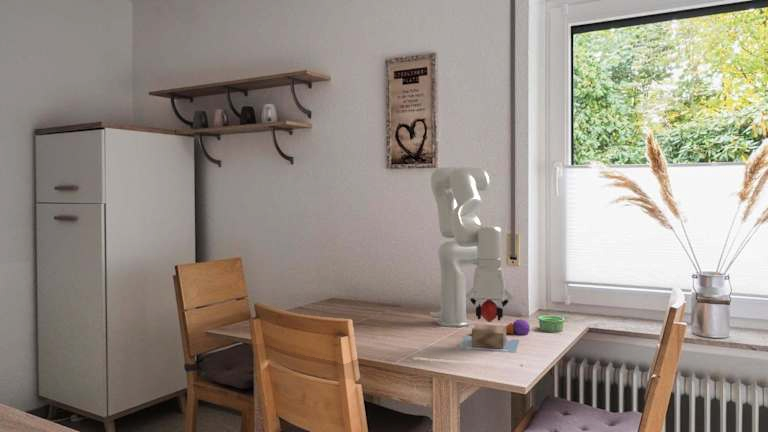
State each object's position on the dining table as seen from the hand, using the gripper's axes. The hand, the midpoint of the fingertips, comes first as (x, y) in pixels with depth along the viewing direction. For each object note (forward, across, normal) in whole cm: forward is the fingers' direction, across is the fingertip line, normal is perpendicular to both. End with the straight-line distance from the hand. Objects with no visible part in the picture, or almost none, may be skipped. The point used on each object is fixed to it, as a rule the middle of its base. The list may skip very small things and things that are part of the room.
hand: (489, 318), depth 189 cm
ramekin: (+9, +19, +29) cm, 36 cm away
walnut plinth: (+8, 0, 0) cm, 8 cm away
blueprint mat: (+9, 0, 0) cm, 9 cm away
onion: (+1, 0, 0) cm, 1 cm away
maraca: (+10, +2, +15) cm, 18 cm away
